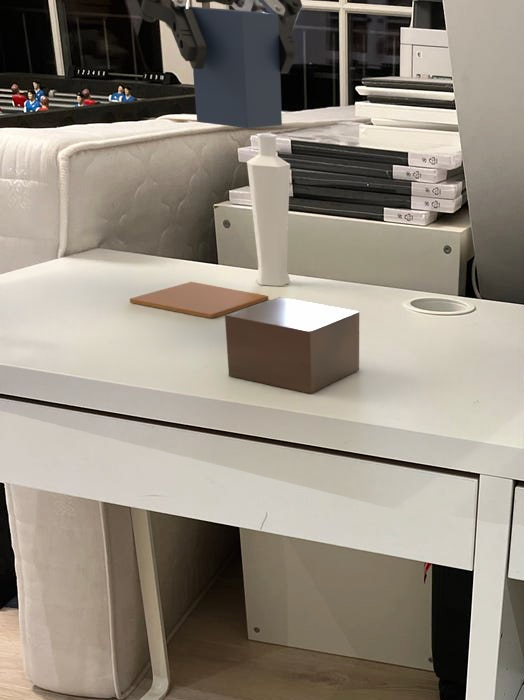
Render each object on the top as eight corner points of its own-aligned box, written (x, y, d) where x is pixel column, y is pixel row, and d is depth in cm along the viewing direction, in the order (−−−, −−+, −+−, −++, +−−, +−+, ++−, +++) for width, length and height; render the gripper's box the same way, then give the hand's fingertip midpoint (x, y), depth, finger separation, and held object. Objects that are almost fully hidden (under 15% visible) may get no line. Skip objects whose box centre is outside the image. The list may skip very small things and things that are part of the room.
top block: (247, 128, 79) (241, 10, 74) (196, 121, 80) (187, 6, 76) (282, 125, 83) (278, 13, 78) (233, 119, 84) (227, 9, 80)
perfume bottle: (265, 288, 108) (258, 137, 100) (246, 280, 111) (237, 132, 103) (301, 285, 111) (297, 137, 103) (281, 276, 114) (276, 132, 106)
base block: (311, 394, 79) (309, 331, 77) (228, 376, 82) (224, 315, 79) (359, 370, 86) (359, 311, 83) (281, 353, 88) (279, 296, 85)
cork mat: (211, 318, 96) (211, 314, 96) (129, 302, 99) (129, 298, 99) (268, 299, 104) (268, 295, 104) (191, 285, 107) (191, 281, 107)
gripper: (91, -174, 73) (167, 20, 71) (268, -143, 80) (340, 32, 79) (79, -84, 79) (148, 96, 77) (244, -63, 87) (310, 100, 85)
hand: (245, 63), depth 78 cm, fingers closed on top block, 7 cm apart
